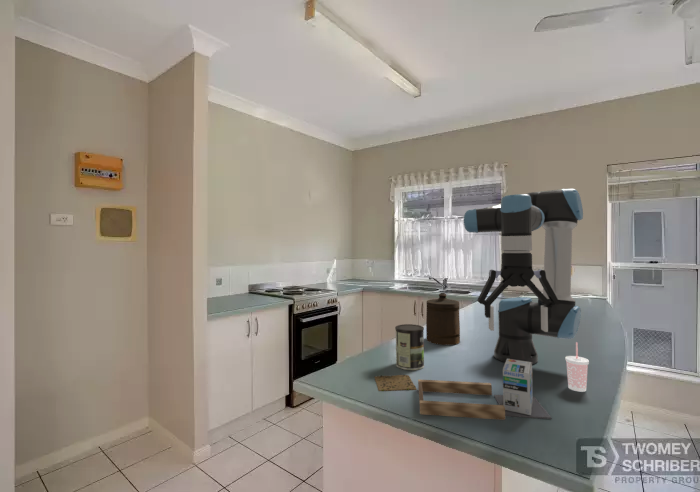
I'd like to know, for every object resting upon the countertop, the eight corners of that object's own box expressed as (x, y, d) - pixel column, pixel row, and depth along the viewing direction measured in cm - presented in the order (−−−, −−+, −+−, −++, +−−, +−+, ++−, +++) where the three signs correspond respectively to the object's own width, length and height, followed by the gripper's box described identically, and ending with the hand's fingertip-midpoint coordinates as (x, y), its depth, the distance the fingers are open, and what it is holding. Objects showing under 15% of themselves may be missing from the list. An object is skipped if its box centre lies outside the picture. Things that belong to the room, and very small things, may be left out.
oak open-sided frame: (490, 393, 104) (490, 383, 104) (505, 419, 88) (505, 407, 88) (418, 389, 107) (418, 379, 107) (419, 414, 91) (419, 402, 91)
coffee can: (424, 361, 132) (423, 324, 132) (424, 371, 122) (423, 331, 122) (396, 360, 134) (396, 323, 134) (394, 369, 124) (394, 330, 124)
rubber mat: (534, 398, 100) (534, 397, 100) (551, 419, 88) (551, 417, 88) (493, 396, 102) (493, 394, 102) (505, 416, 90) (505, 414, 90)
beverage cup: (561, 384, 109) (560, 339, 109) (581, 384, 109) (580, 339, 109) (573, 392, 103) (572, 345, 103) (594, 392, 103) (593, 345, 103)
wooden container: (458, 337, 166) (458, 291, 166) (461, 346, 151) (460, 295, 151) (426, 336, 169) (426, 290, 169) (426, 344, 155) (425, 294, 155)
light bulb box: (531, 416, 89) (530, 373, 89) (502, 410, 92) (502, 369, 92) (533, 399, 98) (532, 361, 98) (506, 395, 101) (506, 357, 101)
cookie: (373, 377, 118) (373, 374, 118) (408, 376, 119) (408, 373, 119) (377, 392, 106) (377, 389, 106) (417, 391, 107) (417, 388, 107)
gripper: (560, 251, 97) (561, 327, 97) (466, 252, 101) (467, 325, 101) (572, 251, 89) (574, 334, 90) (471, 253, 93) (472, 332, 94)
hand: (517, 330), depth 95 cm, fingers open, 13 cm apart
